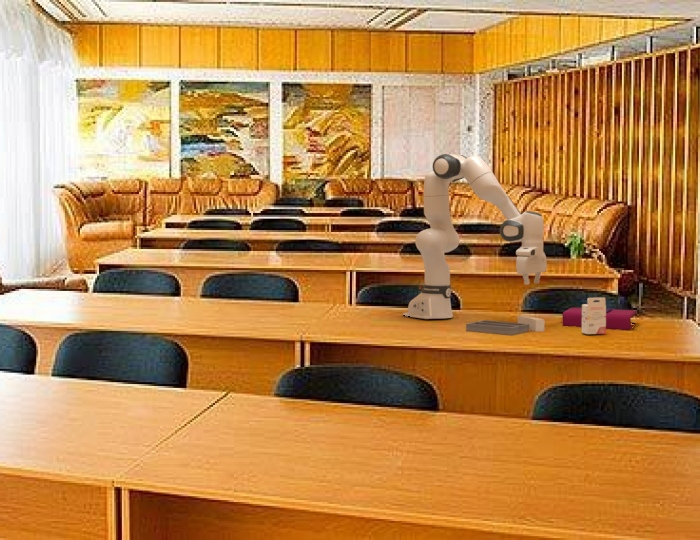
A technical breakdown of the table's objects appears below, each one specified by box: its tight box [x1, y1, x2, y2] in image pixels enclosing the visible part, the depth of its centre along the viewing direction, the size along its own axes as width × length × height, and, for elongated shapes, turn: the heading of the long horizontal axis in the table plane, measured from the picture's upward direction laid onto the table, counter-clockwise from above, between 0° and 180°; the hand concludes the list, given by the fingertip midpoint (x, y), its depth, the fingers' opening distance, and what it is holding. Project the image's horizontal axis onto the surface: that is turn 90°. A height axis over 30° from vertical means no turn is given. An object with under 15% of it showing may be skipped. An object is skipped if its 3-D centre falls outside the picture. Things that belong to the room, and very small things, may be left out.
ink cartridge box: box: [581, 297, 607, 335], centre depth 429 cm, size 9×5×15 cm, turn 105°
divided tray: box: [465, 319, 530, 336], centre depth 434 cm, size 21×15×3 cm
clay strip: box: [517, 315, 546, 332], centre depth 443 cm, size 16×4×5 cm, turn 18°
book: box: [561, 306, 638, 331], centre depth 452 cm, size 21×28×8 cm
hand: (531, 283), depth 441 cm, fingers open, 7 cm apart
